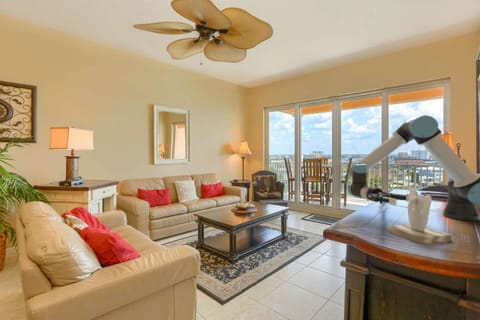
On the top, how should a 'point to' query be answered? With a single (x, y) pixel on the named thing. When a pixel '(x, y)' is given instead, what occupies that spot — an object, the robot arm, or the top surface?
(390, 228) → the striped wooden trivet
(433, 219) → the top surface
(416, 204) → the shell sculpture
